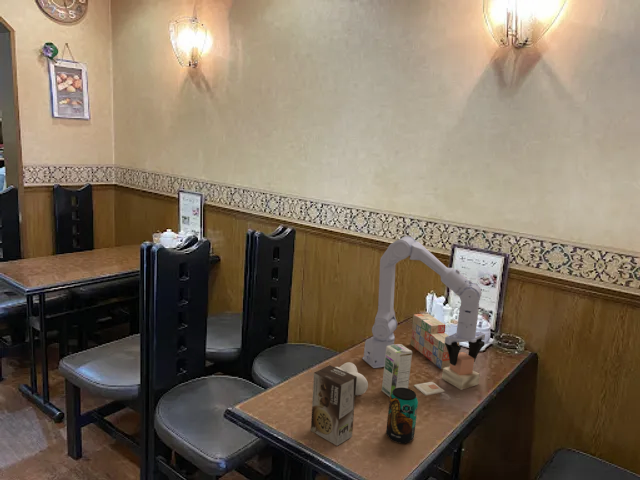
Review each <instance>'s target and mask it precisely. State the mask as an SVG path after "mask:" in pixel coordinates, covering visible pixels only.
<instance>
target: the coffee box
mask: <svg viewBox="0 0 640 480" xmlns="http://www.w3.org/2000/svg"><path fill="white" fill-rule="evenodd" d="M335 367H336V366H334V365H331V364H329V365H327V366H324V367H322V368H321V369H319V370H316V371H315V372H313V384H312V400H311V402H312V403H311V404H312V406H311V422H310V432H312V433H314V434H315V433H316V435H317V436H319V437H321V438H322V439H325V440H326V441H327V442H330V443H331V444H333V445H335V446H336V447H338V446H339V445H341V444H342V443H344V442H346V441H347V440H349V439H351V438H352V437H353V428H354V415H355V407H356V405H355V404H356V395H355V393H356V381H357V377H356V376H354V375H352V374H349V373H347V372H345V371H342V370H340V369H338V368H335Z"/></svg>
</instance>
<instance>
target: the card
mask: <svg viewBox="0 0 640 480" xmlns="http://www.w3.org/2000/svg"><path fill="white" fill-rule="evenodd" d="M413 387H414V388H416V389H417V390H418V391H420V392H421V393H422V394H423V395H424V396H430V395H434V394H440V393H445V390H444V389H443V388H442V387H440V386H439V385H438V384H437V383H435V382H433V381H428V382H423V383H417V384H413Z"/></svg>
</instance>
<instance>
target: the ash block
mask: <svg viewBox="0 0 640 480" xmlns="http://www.w3.org/2000/svg"><path fill="white" fill-rule="evenodd" d="M441 379H442V380H443V381H445V382H447V383H449V384H450V385H452V386H454V387H456V388H457V389H459V390H466V389H468V388H471V387H475V386H478V385H479V381H480V373H479V372H477V371H475V370H473V372H472V373H471V374H465V375H459V374H457V373H456V372H454V371H453V370H452V369H450V366H449V367H445V368H443V369H442V375H441Z"/></svg>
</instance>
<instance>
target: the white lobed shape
mask: <svg viewBox="0 0 640 480" xmlns="http://www.w3.org/2000/svg"><path fill="white" fill-rule="evenodd" d="M334 367H335V368H338V369H340V370H342V371H345V372H347V373H349V374H352V375H354V376H356V377H357V381H356V393H355V396H362V395H363V394H365V393H366V391H367V390H368V388H369V383H368V380H367V378H366V377H365V376H364V374H362V373H360V372H358V368H357V366H356V364H354V362H345V363H342V365H340V366H334Z"/></svg>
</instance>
